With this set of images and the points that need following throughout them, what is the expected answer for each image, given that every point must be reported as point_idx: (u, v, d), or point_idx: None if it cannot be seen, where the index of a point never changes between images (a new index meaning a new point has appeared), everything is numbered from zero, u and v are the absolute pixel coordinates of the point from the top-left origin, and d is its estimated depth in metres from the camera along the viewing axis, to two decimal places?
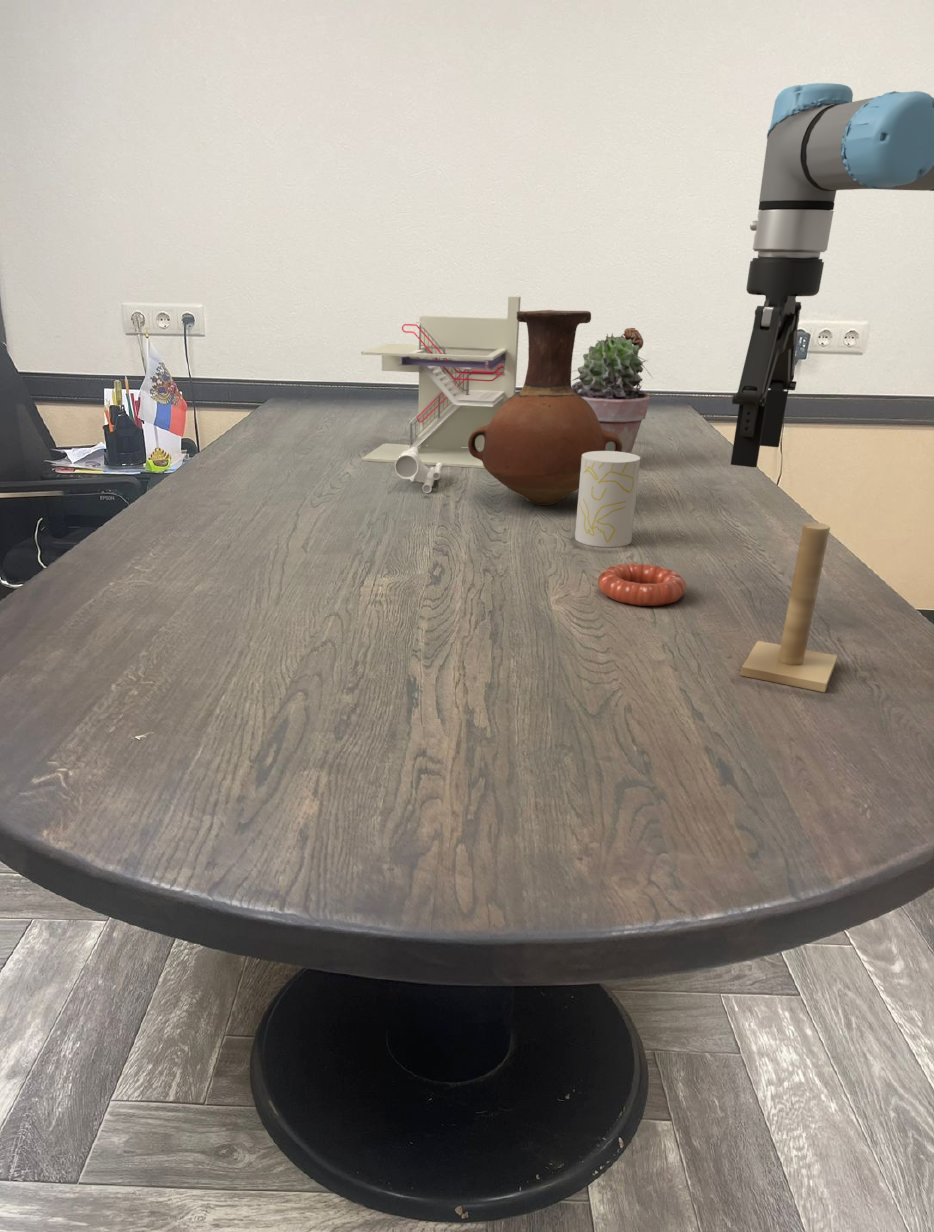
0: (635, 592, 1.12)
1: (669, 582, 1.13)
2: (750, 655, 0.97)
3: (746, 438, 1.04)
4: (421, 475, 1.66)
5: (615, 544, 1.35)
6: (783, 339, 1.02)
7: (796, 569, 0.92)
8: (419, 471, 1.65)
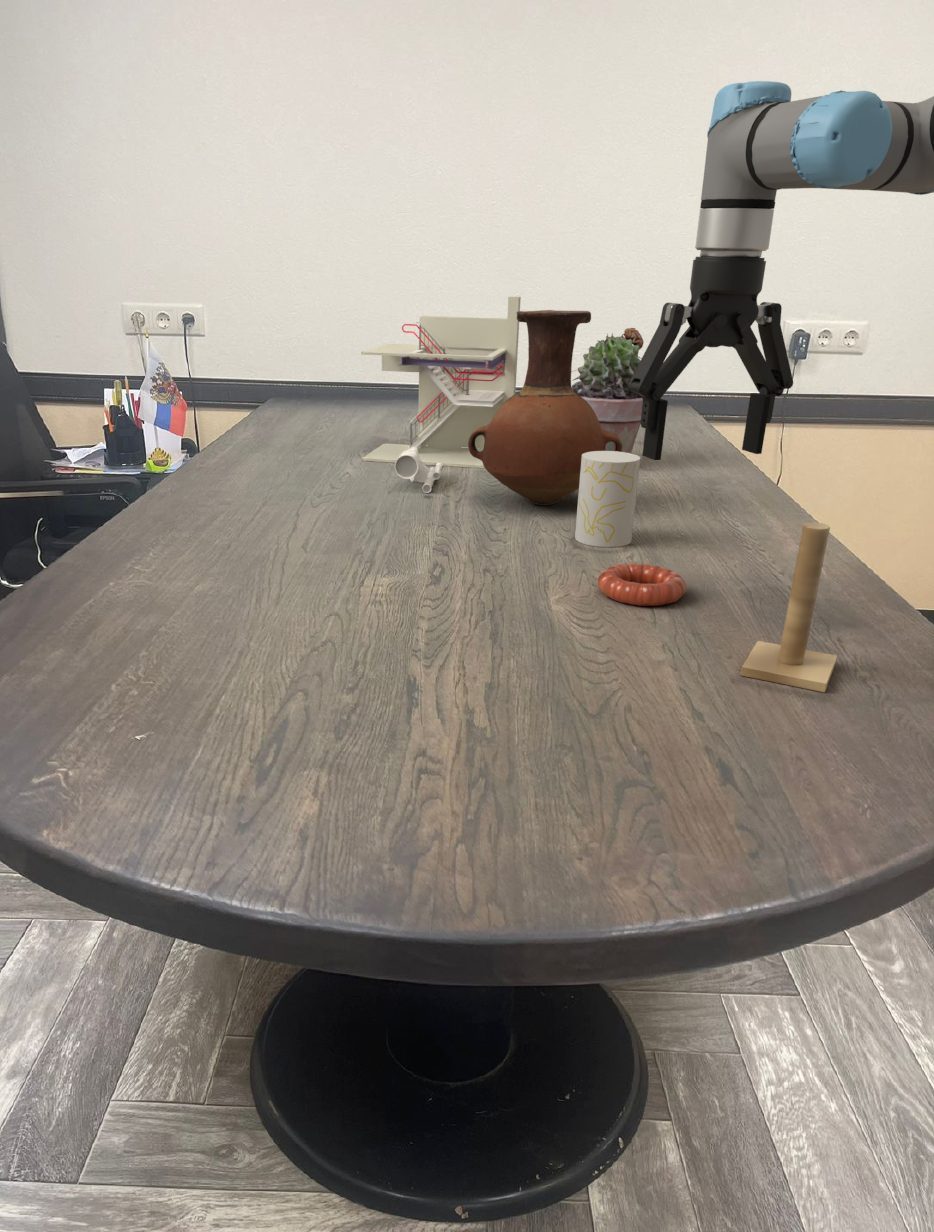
0: (635, 592, 1.12)
1: (669, 582, 1.13)
2: (750, 655, 0.97)
3: (651, 431, 1.07)
4: (421, 475, 1.66)
5: (615, 544, 1.35)
6: (699, 337, 1.02)
7: (796, 569, 0.92)
8: (419, 471, 1.65)
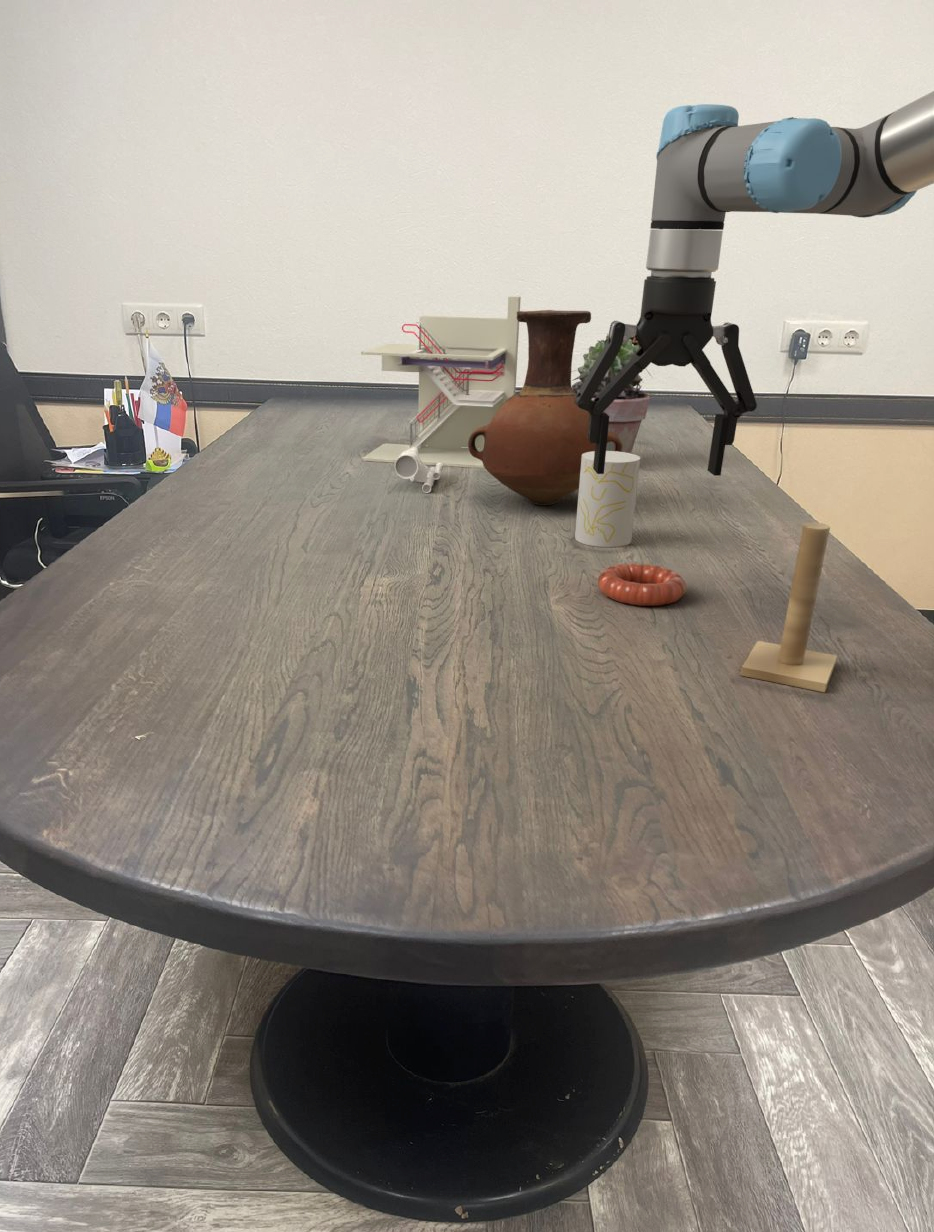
0: (635, 592, 1.12)
1: (669, 582, 1.13)
2: (750, 655, 0.97)
3: (597, 445, 1.10)
4: (421, 475, 1.66)
5: (615, 544, 1.35)
6: (642, 355, 1.04)
7: (796, 569, 0.92)
8: (419, 471, 1.65)
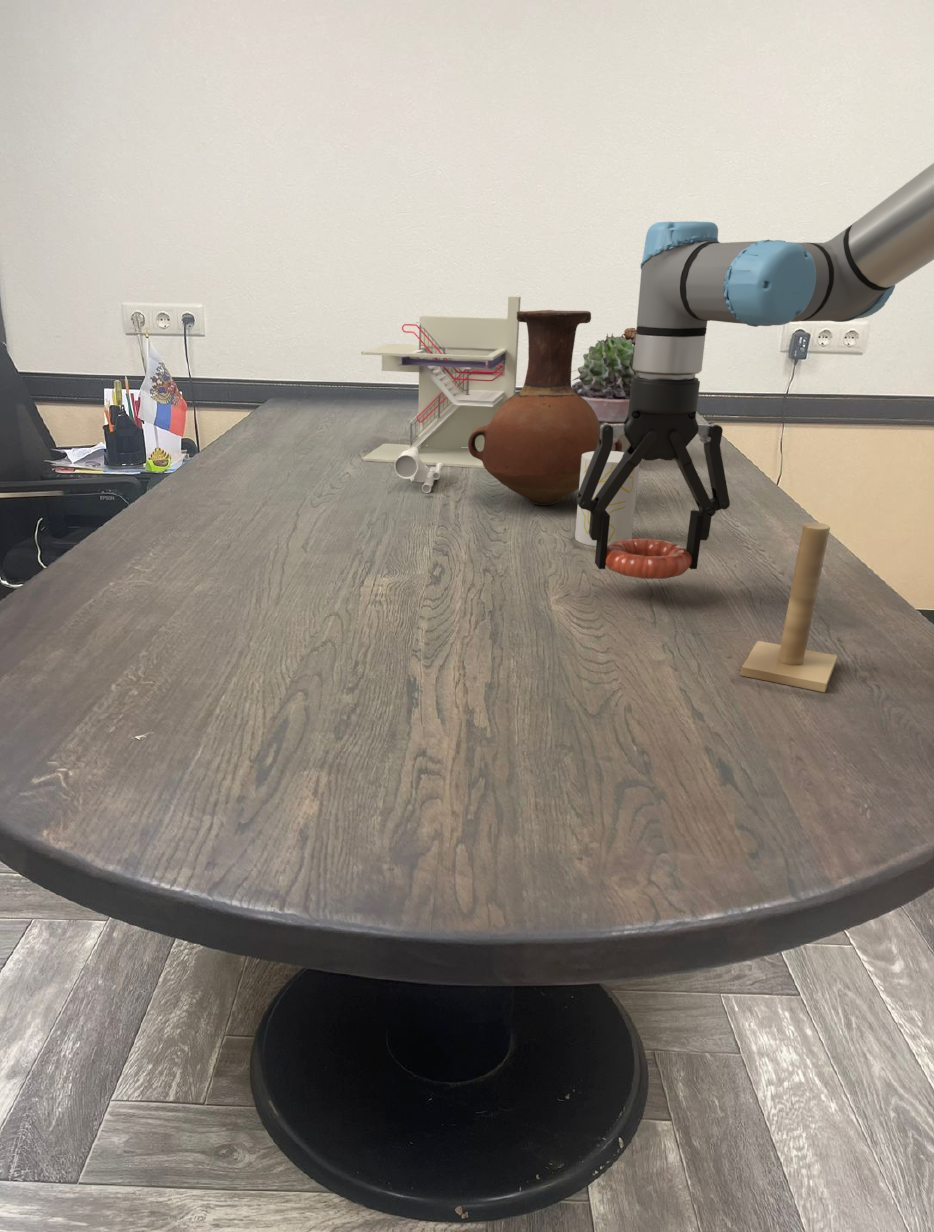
0: (640, 564, 1.10)
1: (675, 555, 1.11)
2: (750, 655, 0.97)
3: (598, 541, 1.14)
4: (421, 475, 1.66)
5: None
6: (632, 454, 1.08)
7: (796, 569, 0.92)
8: (419, 471, 1.65)
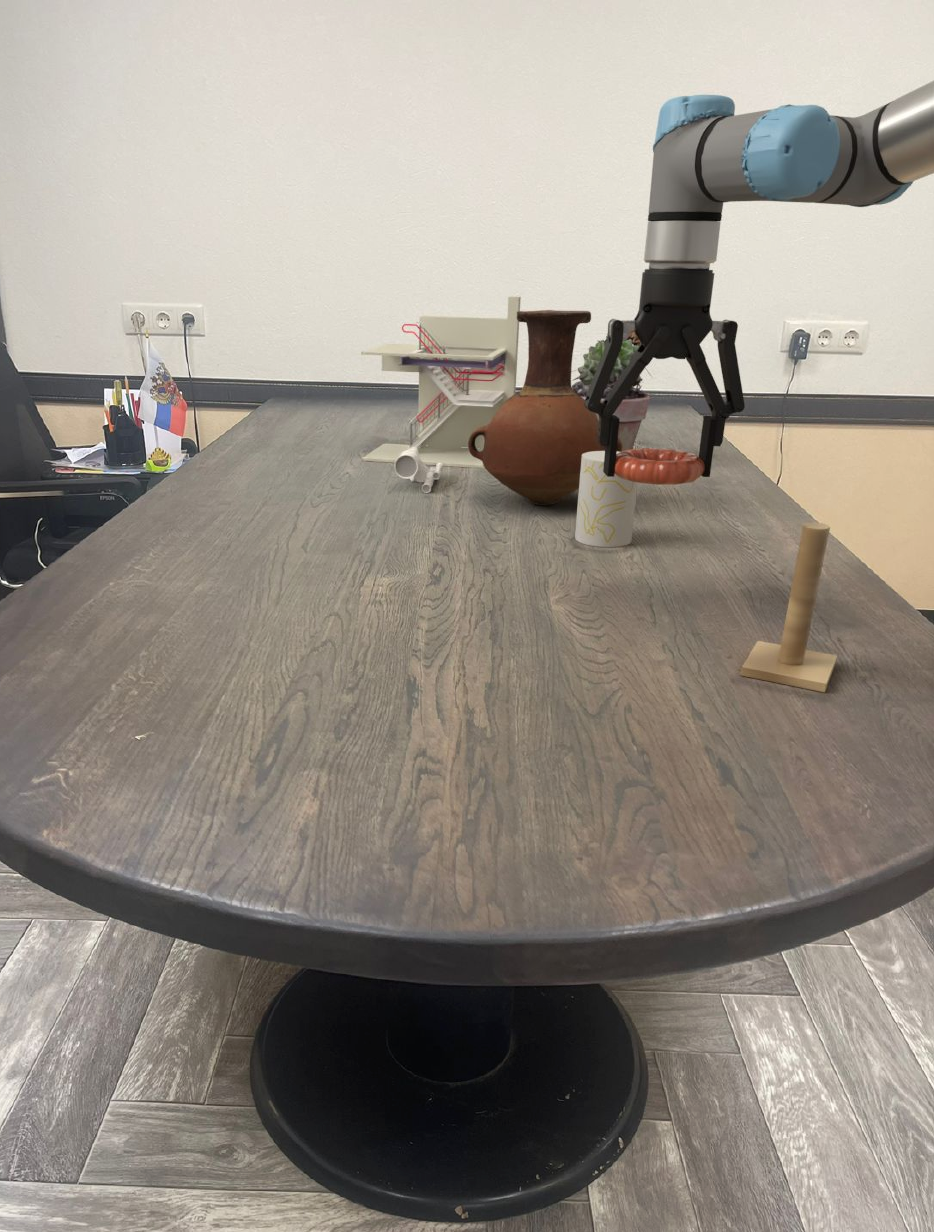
0: (651, 469, 1.05)
1: (687, 460, 1.07)
2: (750, 655, 0.97)
3: (607, 447, 1.09)
4: (421, 475, 1.66)
5: (615, 544, 1.35)
6: (643, 351, 1.03)
7: (796, 569, 0.92)
8: (419, 471, 1.65)
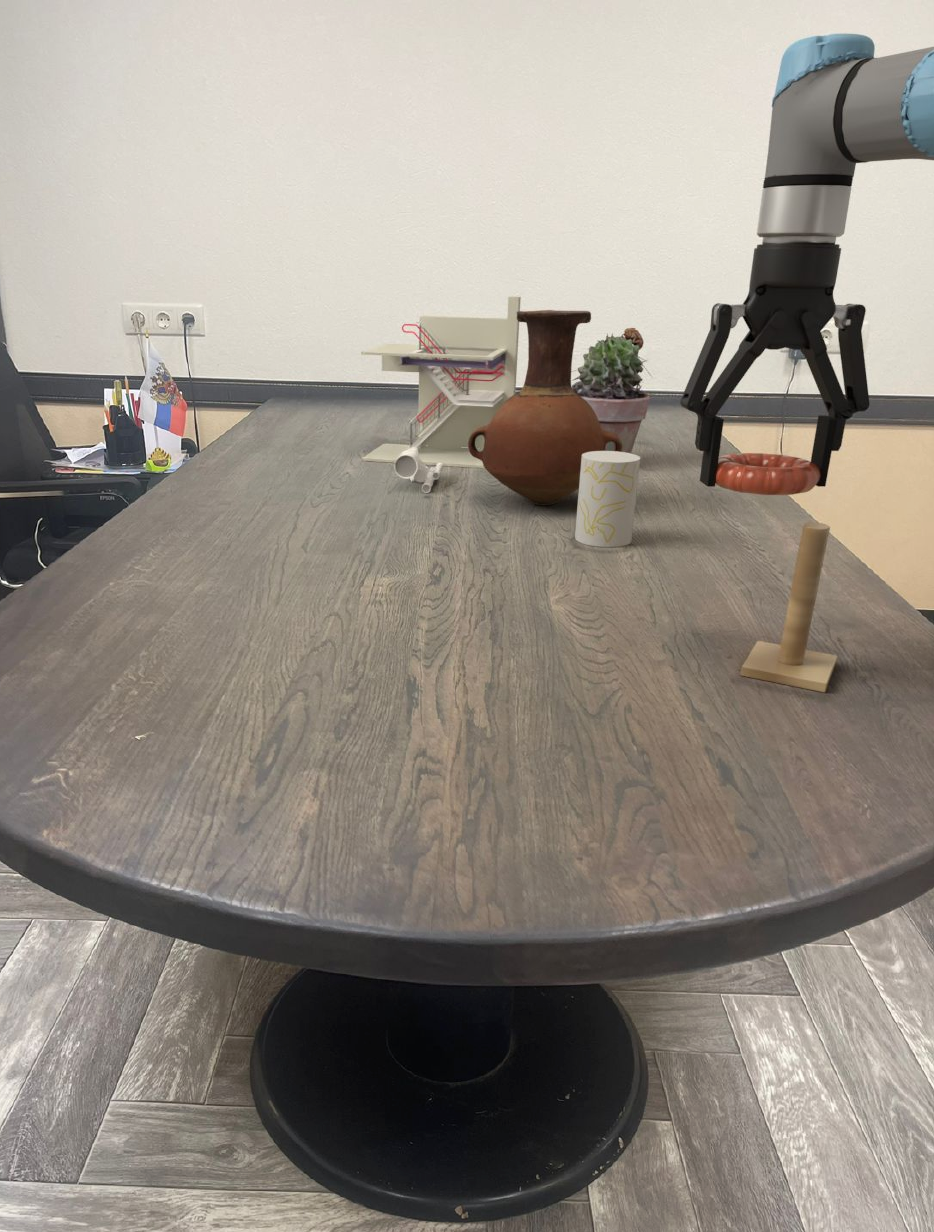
0: (762, 477, 0.91)
1: (802, 467, 0.92)
2: (750, 655, 0.97)
3: (707, 453, 0.94)
4: (421, 475, 1.66)
5: (615, 544, 1.35)
6: (755, 341, 0.89)
7: (796, 569, 0.92)
8: (419, 471, 1.65)
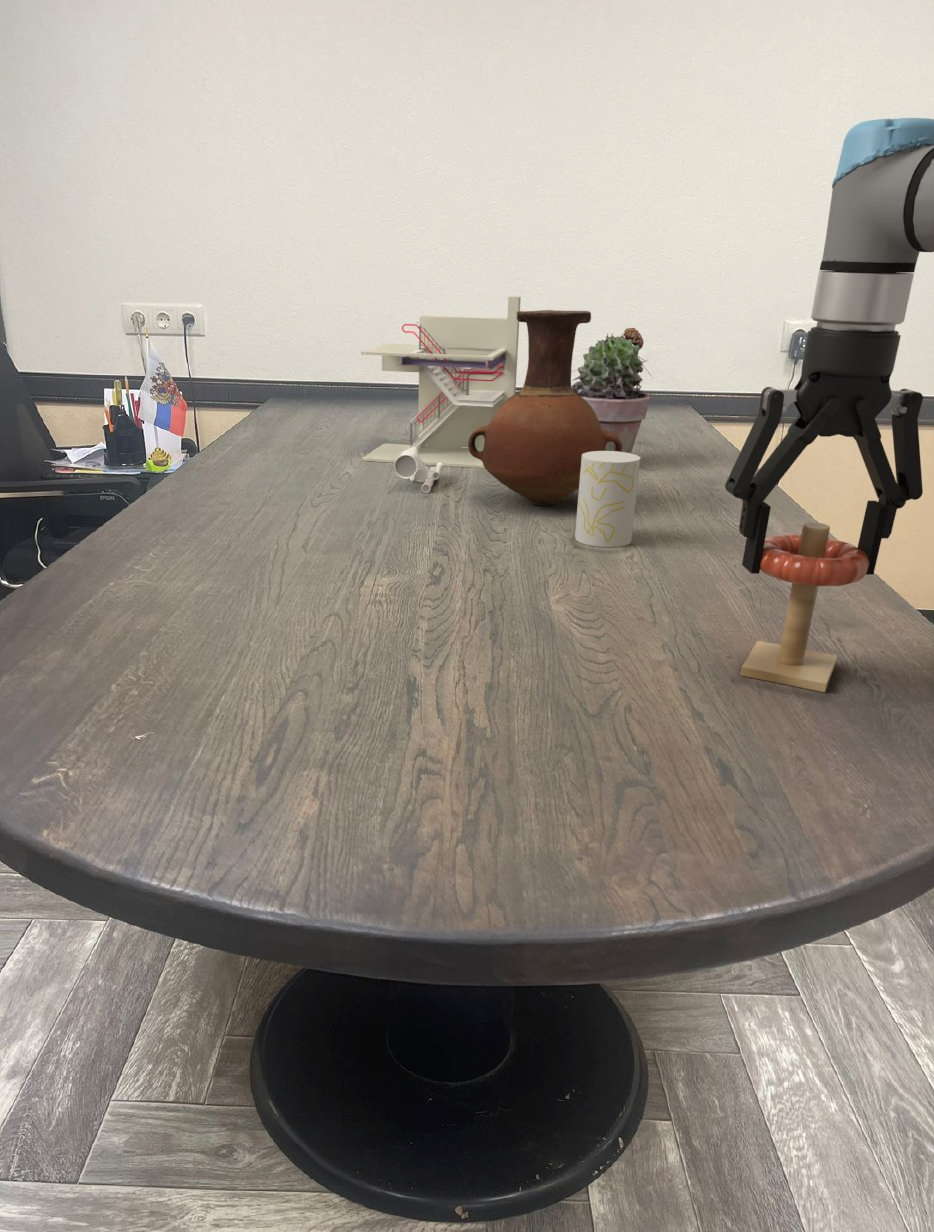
0: (811, 568, 0.87)
1: (852, 557, 0.88)
2: (750, 655, 0.97)
3: (751, 538, 0.91)
4: (421, 475, 1.66)
5: (615, 544, 1.35)
6: (806, 428, 0.85)
7: None
8: (419, 471, 1.65)
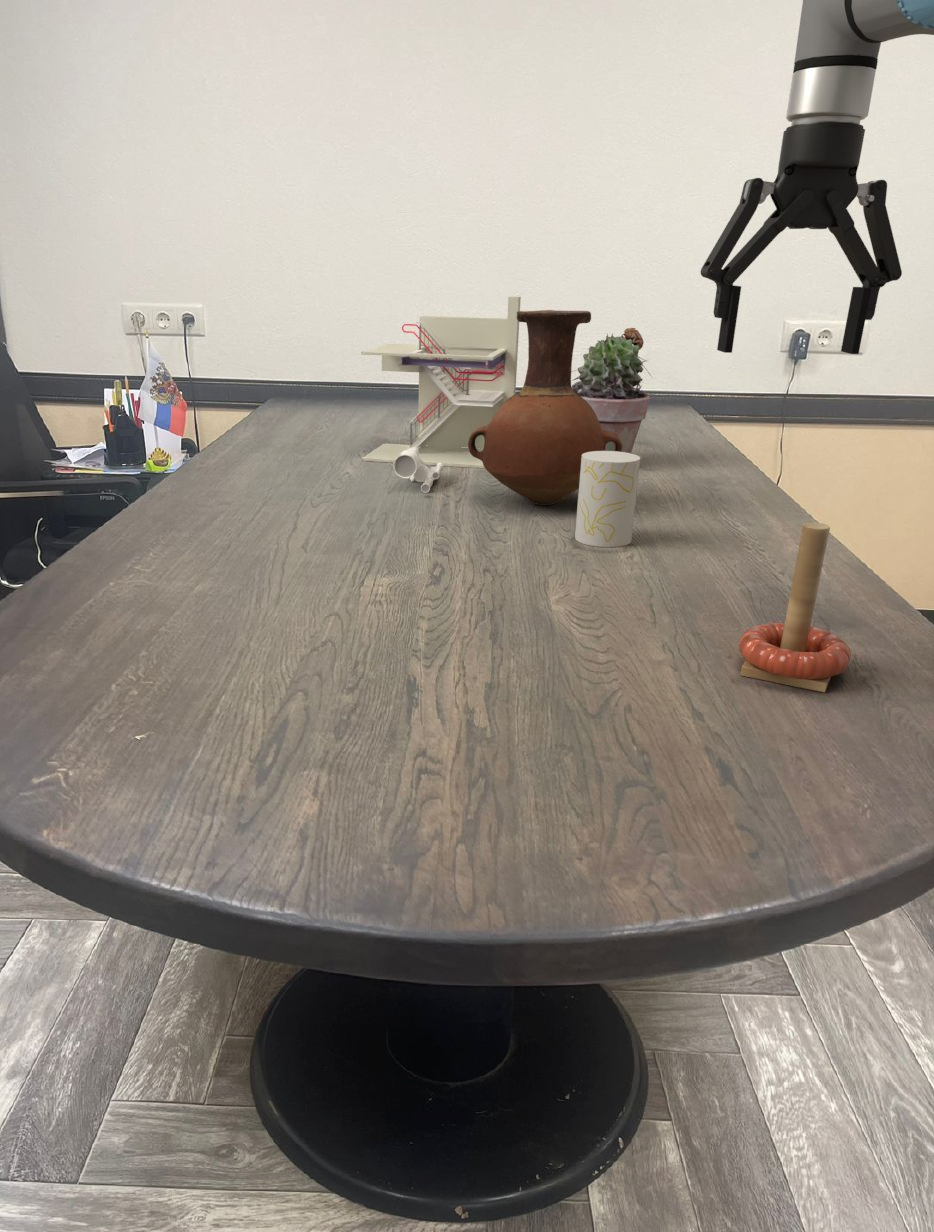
0: (794, 663, 0.91)
1: (834, 650, 0.92)
2: None
3: (724, 321, 1.01)
4: (420, 475, 1.66)
5: (615, 544, 1.35)
6: (780, 215, 0.95)
7: (796, 569, 0.92)
8: (418, 471, 1.66)
